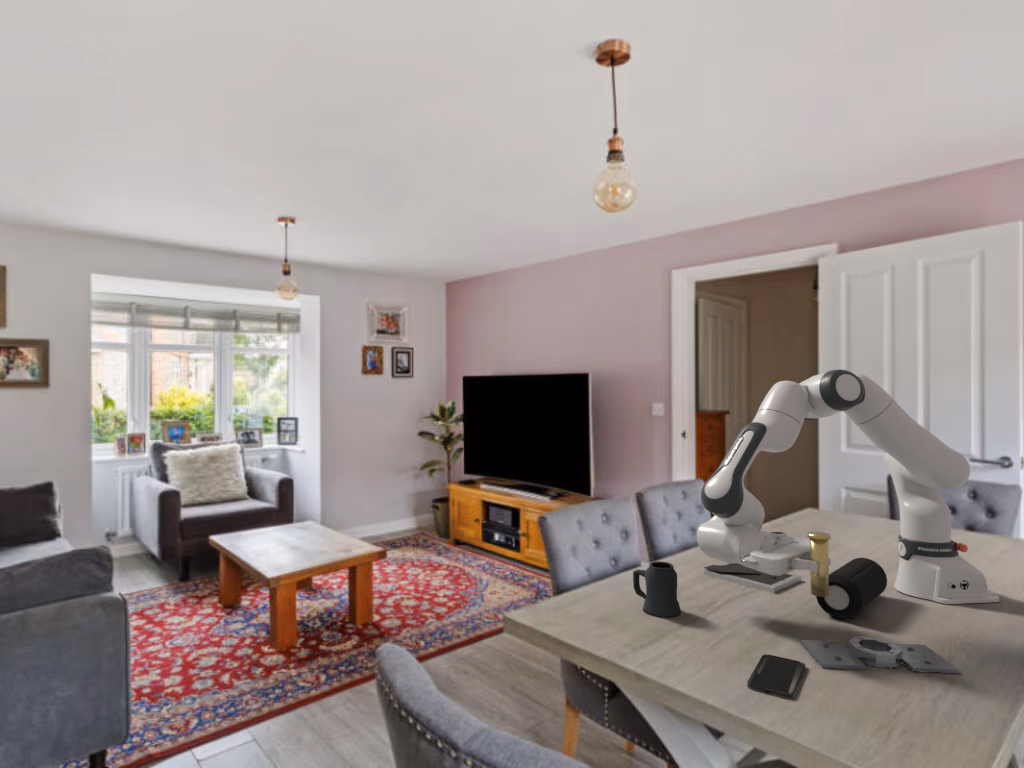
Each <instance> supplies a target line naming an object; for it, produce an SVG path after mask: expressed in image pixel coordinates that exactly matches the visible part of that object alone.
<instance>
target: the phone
mask: <svg viewBox="0 0 1024 768" xmlns="http://www.w3.org/2000/svg"><path fill="white" fill-rule="evenodd" d="M805 671H806V663H804V662H802V661H799V660H795V659H790V658H786V657H783V656H782V657H781V656H777V655H772V654H765V653H764V654H762V655H761V656H760V659H759V660H758V662H757V664H756V666H755V667H754V669H753V670H752V672H751V674H750V676H749V678H748V679H747V681H746V683H747V684H746V685H747V686H746V687H747V688H748V689H749V690H751V691H755V692H759V693H763V694H767V695H770V696H774V697H778V698H781V699H786V700H792V699H794V698H795V696H796V693H797V691H798V688H799V685H800V683H801V681H802V679H803V675H804V674H805Z"/></svg>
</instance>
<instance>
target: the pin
mask: <svg viewBox="0 0 1024 768" xmlns="http://www.w3.org/2000/svg"><path fill="white" fill-rule="evenodd" d="M806 535H807V538H808V539H809V540H810V560H813V561H818V562H819V563H820V569H819V570H817V571H812V570H809V571H810V572H809V575H810V577H809V580H810V594H811V596H815V597H816V596H819V597H827V596H829V574H830V571H829V569H830V568H829V567H830V565H829V561H828V557H829V541H830V540H831V538H832V537H831V536H832V535H831V534H830V533H828V532H824V531H807V534H806Z"/></svg>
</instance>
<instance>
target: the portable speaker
mask: <svg viewBox="0 0 1024 768" xmlns="http://www.w3.org/2000/svg"><path fill="white" fill-rule="evenodd" d="M887 585H888V578H887V574H886V572H885V570H884V568H883V567H882V566H881V565H880V564H879V563H877V562H876V561H874V560H873V559H870V558H867V557H856V558H853V559H851V560H849V561H848V562H847V563H845V564H843V565H842V566H840V567H839V568H837V569H836V570H834V571H832V572H831V573H829V596H827V597H819V596H815V597H816V600H817V601H816V602H817V603H818V605H819V606H820V608H821V609H822V610H823V611H824V612H825V613H826V614H828V615H830V616H831V617H832V616H833V617H836V618H840V619H849V618H852V617H854V616H856V615H857V614H858V613H859V612H861V611H862V610H863V609H864V608H865V607H867V606H868V605H869V604H870V603H872V602H873V601H874V600H875V599H877V598H878V597H879V596H881V594H883V593H884V591H885V590H886V589H887Z"/></svg>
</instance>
